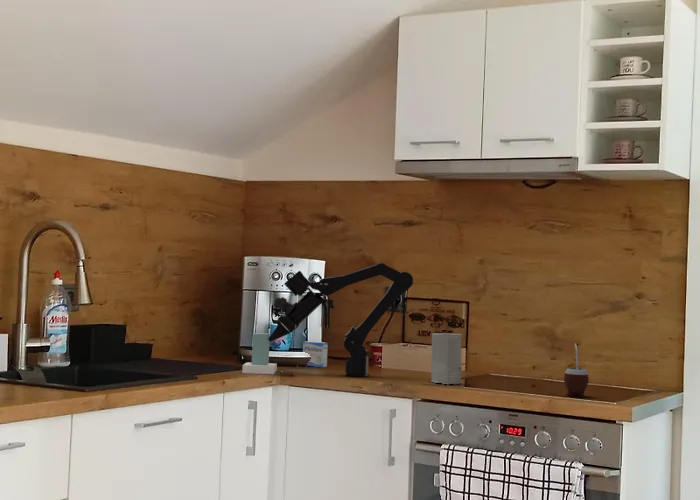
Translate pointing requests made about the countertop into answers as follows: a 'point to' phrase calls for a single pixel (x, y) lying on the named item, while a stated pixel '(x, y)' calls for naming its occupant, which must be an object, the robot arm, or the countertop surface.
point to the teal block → (260, 349)
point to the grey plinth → (259, 368)
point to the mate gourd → (576, 380)
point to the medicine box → (316, 353)
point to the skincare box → (446, 358)
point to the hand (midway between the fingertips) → (270, 339)
